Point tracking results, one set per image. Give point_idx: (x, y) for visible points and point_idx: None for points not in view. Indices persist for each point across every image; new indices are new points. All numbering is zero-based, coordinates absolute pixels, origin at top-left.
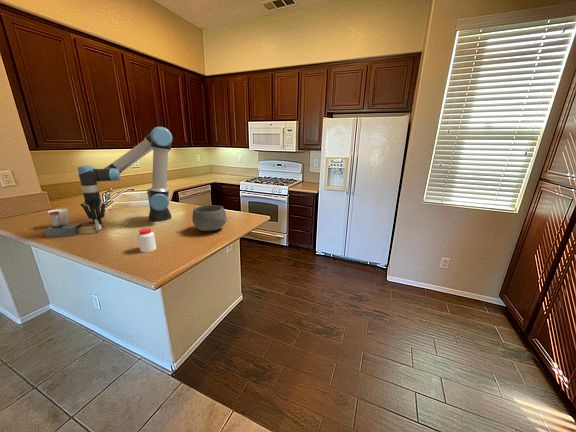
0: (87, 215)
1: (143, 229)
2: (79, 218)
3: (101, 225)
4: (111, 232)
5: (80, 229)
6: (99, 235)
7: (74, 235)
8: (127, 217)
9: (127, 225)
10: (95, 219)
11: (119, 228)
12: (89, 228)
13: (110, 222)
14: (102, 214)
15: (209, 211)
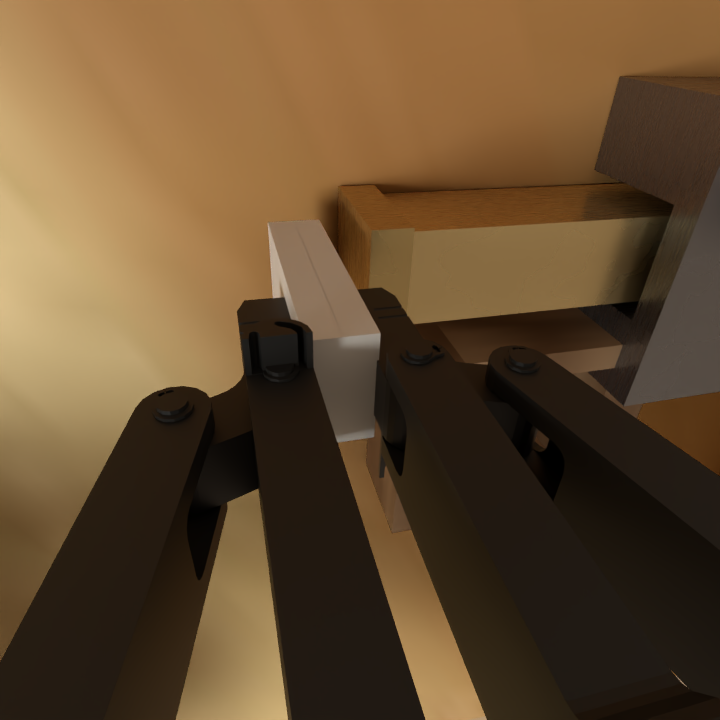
0: (614, 409)
1: None
2: None
3: (375, 460)
4: (26, 189)
5: (588, 212)
6: (170, 9)
7: (621, 90)
8: (244, 704)
9: (12, 518)
10: (367, 363)
11: (41, 398)
12: (449, 223)
13: None
14: (89, 507)
15: None
